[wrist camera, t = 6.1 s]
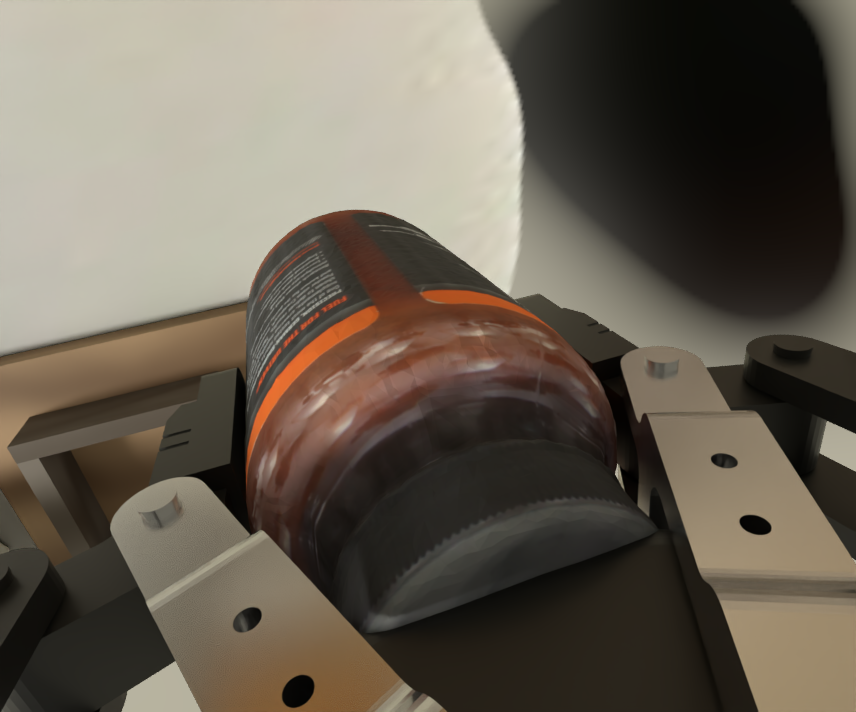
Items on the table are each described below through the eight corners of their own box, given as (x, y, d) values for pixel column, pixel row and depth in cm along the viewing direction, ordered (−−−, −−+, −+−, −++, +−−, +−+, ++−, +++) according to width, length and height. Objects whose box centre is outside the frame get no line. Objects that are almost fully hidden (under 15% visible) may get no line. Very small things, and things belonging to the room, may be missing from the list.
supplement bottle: (231, 388, 16) (190, 874, 6) (265, 179, 14) (290, 377, 4) (424, 410, 18) (633, 791, 8) (477, 231, 16) (846, 443, 6)
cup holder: (-53, 368, 28) (-103, 410, 24) (257, 299, 31) (257, 326, 27) (78, 583, 35) (56, 642, 32) (321, 510, 38) (328, 556, 34)
